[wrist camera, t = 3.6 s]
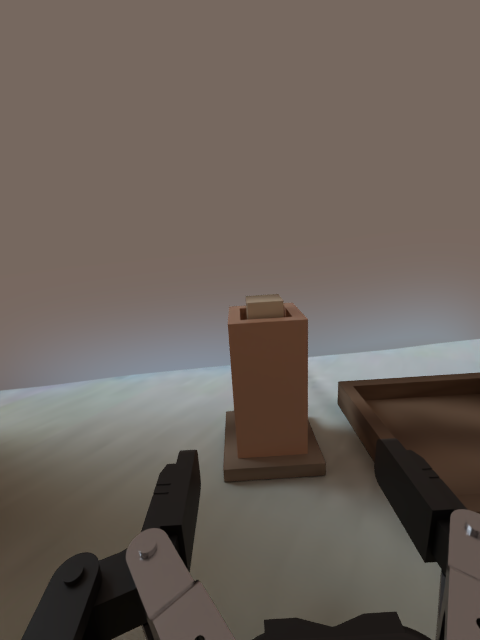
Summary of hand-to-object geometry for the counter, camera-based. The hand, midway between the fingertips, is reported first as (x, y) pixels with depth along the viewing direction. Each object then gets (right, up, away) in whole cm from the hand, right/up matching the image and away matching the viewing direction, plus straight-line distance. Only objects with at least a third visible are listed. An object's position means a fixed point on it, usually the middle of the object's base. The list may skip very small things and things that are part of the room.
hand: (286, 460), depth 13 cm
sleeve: (0, -3, +10) cm, 11 cm away
